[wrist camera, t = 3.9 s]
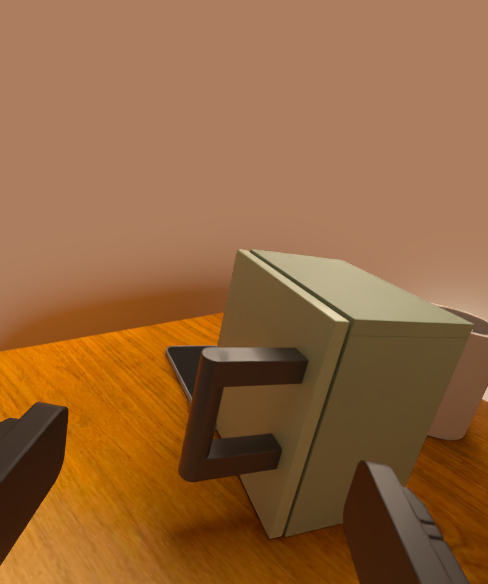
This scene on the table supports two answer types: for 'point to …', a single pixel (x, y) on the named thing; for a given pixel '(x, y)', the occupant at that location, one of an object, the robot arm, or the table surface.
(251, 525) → the table surface
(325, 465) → the cupboard
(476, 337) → the cup
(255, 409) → the cupboard door
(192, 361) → the smartphone
